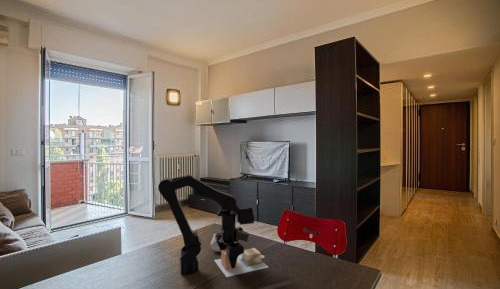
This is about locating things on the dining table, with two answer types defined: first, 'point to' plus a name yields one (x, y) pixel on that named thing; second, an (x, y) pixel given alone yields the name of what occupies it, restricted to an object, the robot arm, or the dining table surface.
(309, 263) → the dining table surface
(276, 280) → the dining table surface
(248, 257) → the birch base block
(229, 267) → the terracotta block
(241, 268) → the blueprint board
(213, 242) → the die
